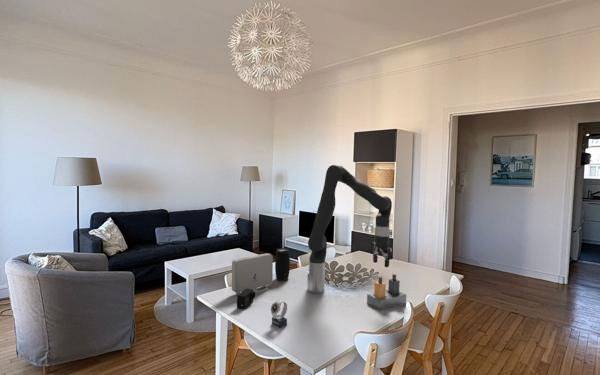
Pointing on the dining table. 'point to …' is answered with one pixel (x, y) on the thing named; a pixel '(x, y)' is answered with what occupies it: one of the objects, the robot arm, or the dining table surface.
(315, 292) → the robot arm
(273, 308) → the watch
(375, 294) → the orange plug
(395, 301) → the grey stone block holder
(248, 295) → the digital camera
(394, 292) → the twin plug
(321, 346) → the dining table surface
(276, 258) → the portable speaker
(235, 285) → the network device
